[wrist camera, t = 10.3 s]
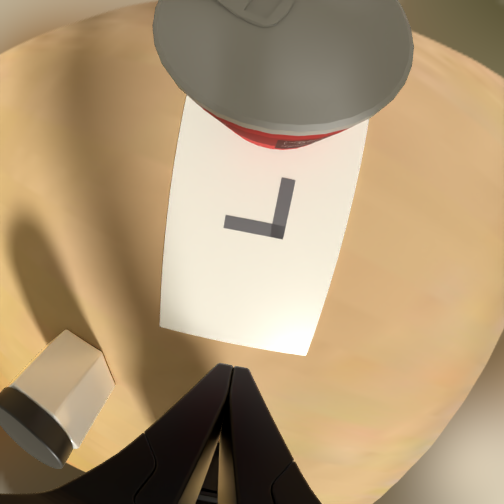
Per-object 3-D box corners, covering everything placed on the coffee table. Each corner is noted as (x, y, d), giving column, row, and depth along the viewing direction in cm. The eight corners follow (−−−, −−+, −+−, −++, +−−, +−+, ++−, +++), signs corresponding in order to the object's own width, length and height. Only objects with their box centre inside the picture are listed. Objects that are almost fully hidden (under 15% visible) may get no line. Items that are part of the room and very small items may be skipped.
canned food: (233, 32, 15) (195, -72, 4) (349, 62, 15) (422, -19, 5) (202, 134, 17) (116, 105, 7) (322, 165, 17) (391, 173, 7)
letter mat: (305, 353, 22) (305, 355, 22) (160, 324, 22) (159, 326, 22) (373, 83, 16) (374, 82, 15) (198, 50, 16) (197, 49, 15)
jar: (50, 363, 26) (-4, 427, 14) (51, 315, 23) (-22, 383, 12) (111, 403, 26) (68, 481, 15) (122, 361, 24) (64, 454, 13)
